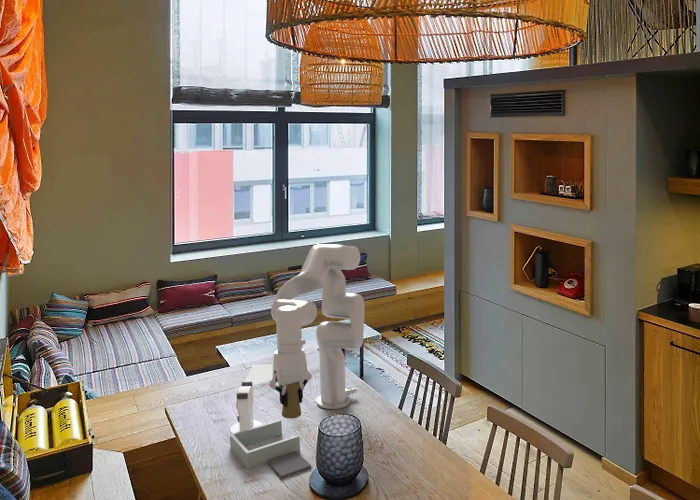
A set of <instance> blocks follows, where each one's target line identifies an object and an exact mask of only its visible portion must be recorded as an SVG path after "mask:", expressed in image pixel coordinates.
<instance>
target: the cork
mask: <svg viewBox="0 0 700 500" xmlns="http://www.w3.org/2000/svg"><path fill="white" fill-rule="evenodd" d="M299 387H300V385H299V382H296V383H292V384H288V385H287V386H286V392H285V393H286V394H287V407H285V406H283V405H282V411H281V416H282V417H283V418H285V419H297V418H300V416H302V409H301V403H300V402H299V395H298V390H299Z"/></svg>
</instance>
